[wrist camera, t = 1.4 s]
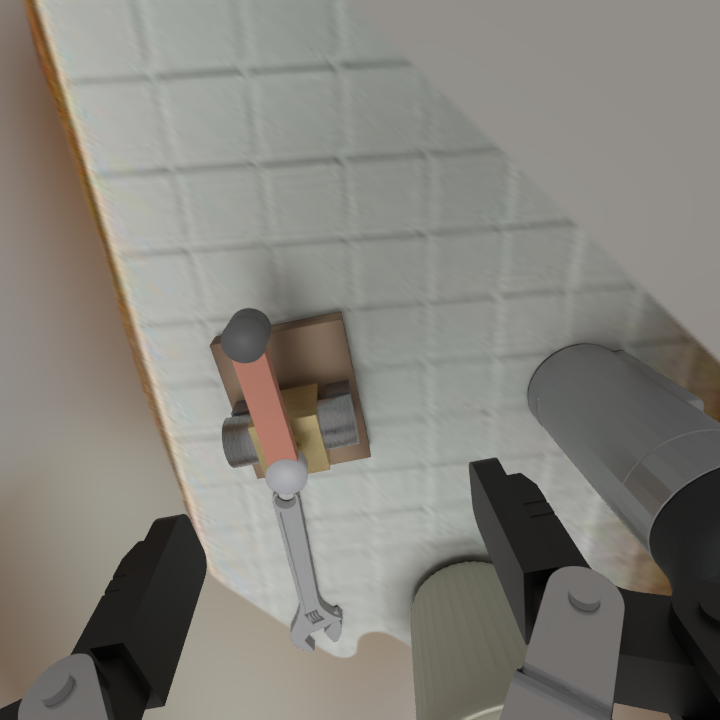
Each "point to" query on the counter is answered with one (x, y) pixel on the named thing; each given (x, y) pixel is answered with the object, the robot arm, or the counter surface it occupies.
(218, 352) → the mounting board
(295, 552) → the adjustable wrench
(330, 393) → the pipe valve
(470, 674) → the canister
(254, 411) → the valve lever
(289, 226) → the counter surface
